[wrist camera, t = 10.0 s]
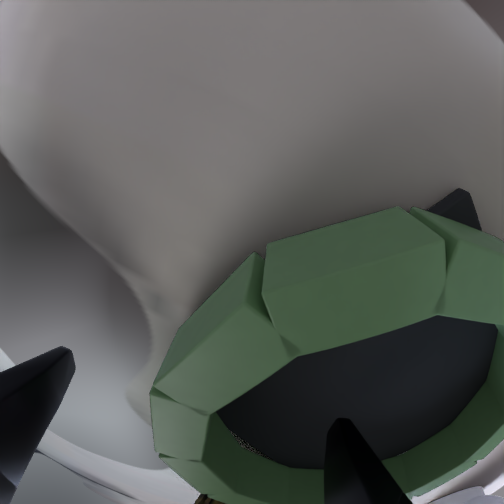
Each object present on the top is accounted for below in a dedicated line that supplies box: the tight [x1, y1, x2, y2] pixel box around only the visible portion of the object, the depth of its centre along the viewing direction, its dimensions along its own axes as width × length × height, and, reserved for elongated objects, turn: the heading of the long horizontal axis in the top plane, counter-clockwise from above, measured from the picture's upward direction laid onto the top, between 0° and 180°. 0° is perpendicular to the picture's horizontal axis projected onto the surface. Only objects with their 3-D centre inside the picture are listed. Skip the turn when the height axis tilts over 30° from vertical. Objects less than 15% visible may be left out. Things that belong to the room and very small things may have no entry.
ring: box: [150, 206, 504, 504], centre depth 8 cm, size 14×14×2 cm
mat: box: [216, 188, 498, 469], centre depth 10 cm, size 11×11×1 cm
